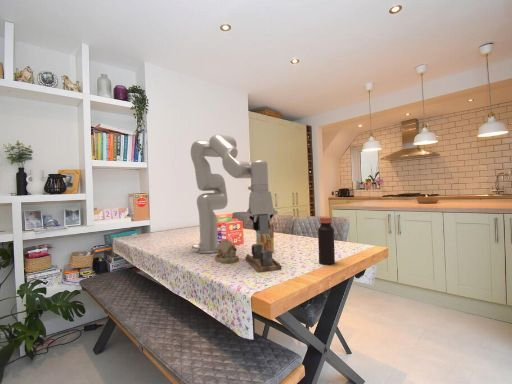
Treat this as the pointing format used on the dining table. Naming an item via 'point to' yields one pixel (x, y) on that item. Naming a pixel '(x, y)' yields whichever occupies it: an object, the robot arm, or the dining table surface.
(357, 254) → the dining table surface
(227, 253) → the ceramic model
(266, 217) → the finger block
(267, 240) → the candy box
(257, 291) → the dining table surface
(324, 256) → the bottle
